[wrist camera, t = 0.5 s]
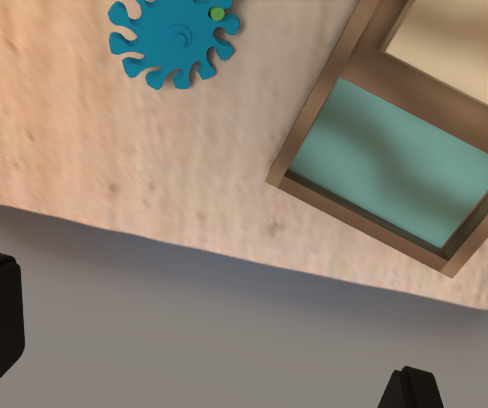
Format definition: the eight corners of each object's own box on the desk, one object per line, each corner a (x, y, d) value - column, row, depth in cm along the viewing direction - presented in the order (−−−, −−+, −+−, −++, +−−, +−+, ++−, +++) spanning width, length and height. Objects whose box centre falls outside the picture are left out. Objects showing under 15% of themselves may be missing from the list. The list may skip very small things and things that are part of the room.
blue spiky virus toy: (166, 114, 36) (77, 33, 28) (152, 72, 39) (68, -11, 31) (273, 39, 33) (211, -73, 25) (249, 1, 36) (187, -110, 28)
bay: (409, -95, 28) (418, -110, 26) (640, 23, 28) (673, 22, 26) (269, 170, 38) (264, 181, 35) (443, 261, 38) (452, 278, 35)
